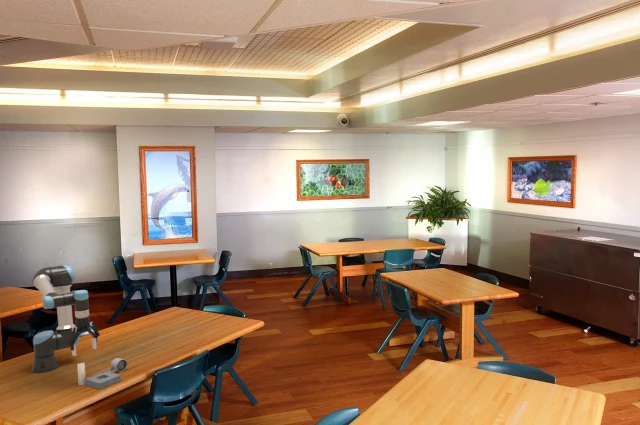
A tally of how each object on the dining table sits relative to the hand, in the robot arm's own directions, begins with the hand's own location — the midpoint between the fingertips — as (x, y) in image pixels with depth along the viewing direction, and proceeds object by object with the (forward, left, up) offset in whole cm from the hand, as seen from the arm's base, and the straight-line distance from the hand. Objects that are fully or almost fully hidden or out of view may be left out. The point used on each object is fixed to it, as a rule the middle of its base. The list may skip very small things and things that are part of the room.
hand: (84, 352), depth 311 cm
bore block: (+9, +5, -19) cm, 21 cm away
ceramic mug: (0, +21, -19) cm, 28 cm away
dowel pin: (-1, -2, -19) cm, 19 cm away
